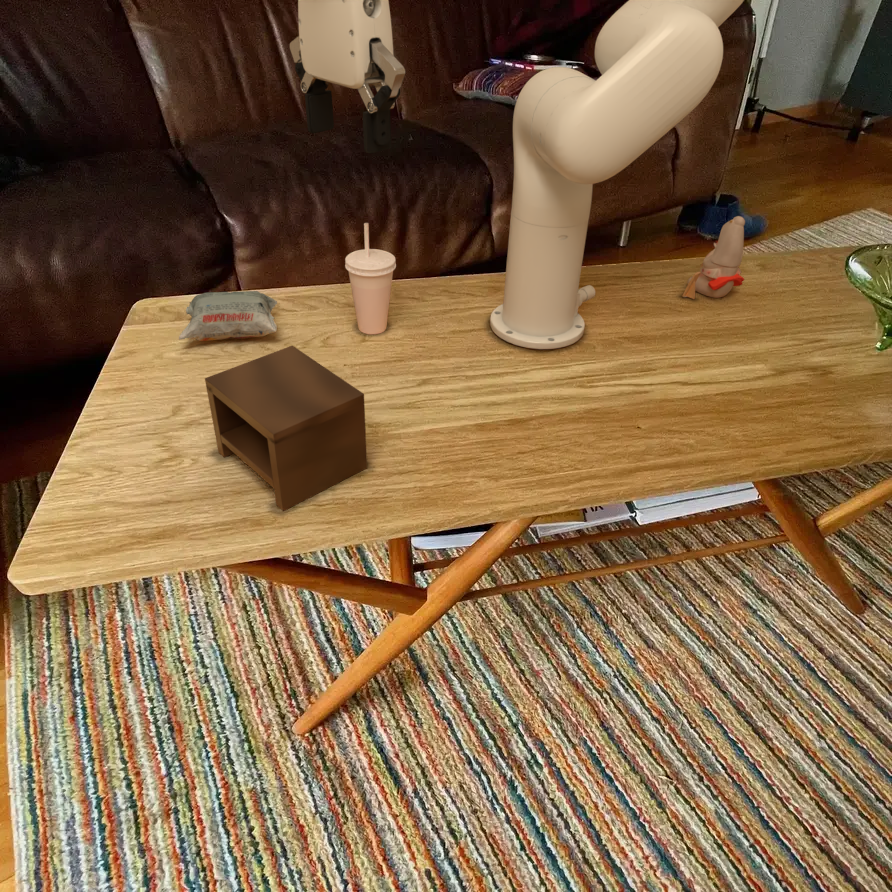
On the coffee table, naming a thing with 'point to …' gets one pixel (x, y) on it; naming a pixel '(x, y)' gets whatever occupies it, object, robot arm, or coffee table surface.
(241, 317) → the packaged food
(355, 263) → the smoothie
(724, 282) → the figurine
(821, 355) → the coffee table surface
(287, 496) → the box
